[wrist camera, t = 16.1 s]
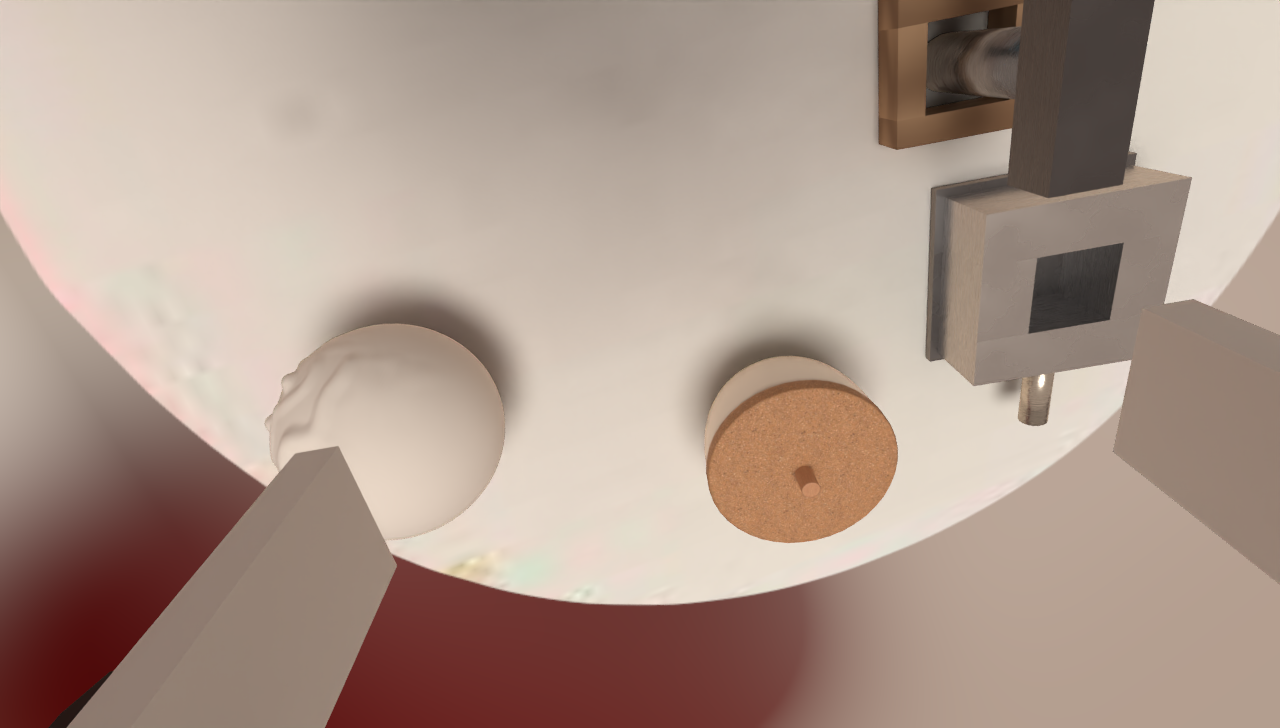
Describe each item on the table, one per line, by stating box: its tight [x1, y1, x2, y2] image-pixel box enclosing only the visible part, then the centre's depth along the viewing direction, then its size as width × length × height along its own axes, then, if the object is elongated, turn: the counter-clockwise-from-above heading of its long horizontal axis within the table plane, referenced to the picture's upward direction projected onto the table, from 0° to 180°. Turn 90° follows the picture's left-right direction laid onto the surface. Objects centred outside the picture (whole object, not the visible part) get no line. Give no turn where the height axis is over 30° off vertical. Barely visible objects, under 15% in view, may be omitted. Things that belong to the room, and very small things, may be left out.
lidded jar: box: [705, 356, 898, 543], centre depth 37 cm, size 11×11×9 cm
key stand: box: [878, 0, 1024, 150], centre depth 31 cm, size 7×7×2 cm
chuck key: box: [926, 0, 1155, 198], centre depth 27 cm, size 9×3×12 cm, turn 10°
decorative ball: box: [265, 324, 505, 540], centre depth 34 cm, size 12×12×12 cm
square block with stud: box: [926, 152, 1192, 426], centre depth 36 cm, size 15×11×5 cm
